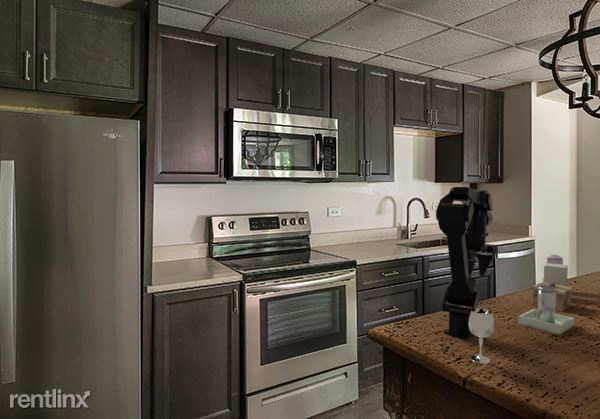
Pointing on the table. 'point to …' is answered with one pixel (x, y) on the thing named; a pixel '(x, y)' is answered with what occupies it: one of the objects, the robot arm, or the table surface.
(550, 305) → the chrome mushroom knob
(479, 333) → the wineglass
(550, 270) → the supplement box
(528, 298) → the table surface
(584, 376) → the table surface
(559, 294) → the lidded bin
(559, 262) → the syrup box
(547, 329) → the tray
